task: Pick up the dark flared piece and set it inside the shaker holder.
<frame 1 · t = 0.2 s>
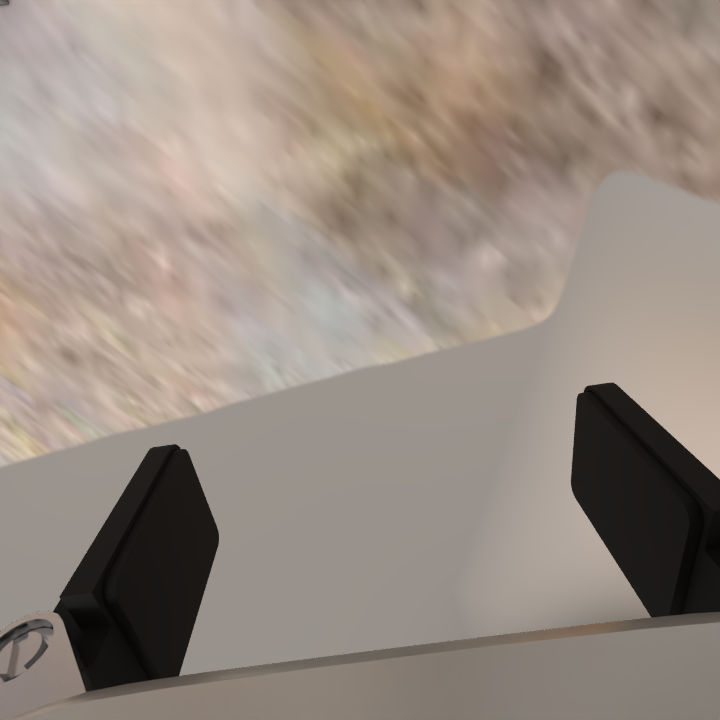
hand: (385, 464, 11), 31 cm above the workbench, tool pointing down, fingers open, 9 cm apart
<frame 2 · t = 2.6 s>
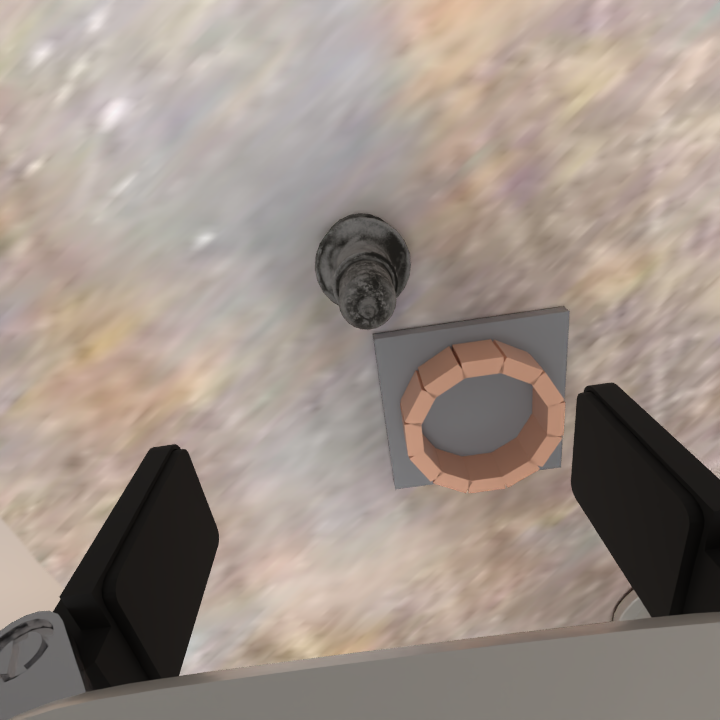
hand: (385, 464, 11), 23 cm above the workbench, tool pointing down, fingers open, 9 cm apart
dark flared piece: (361, 253, 32), on the workbench
shaker holder: (471, 401, 37), on the workbench
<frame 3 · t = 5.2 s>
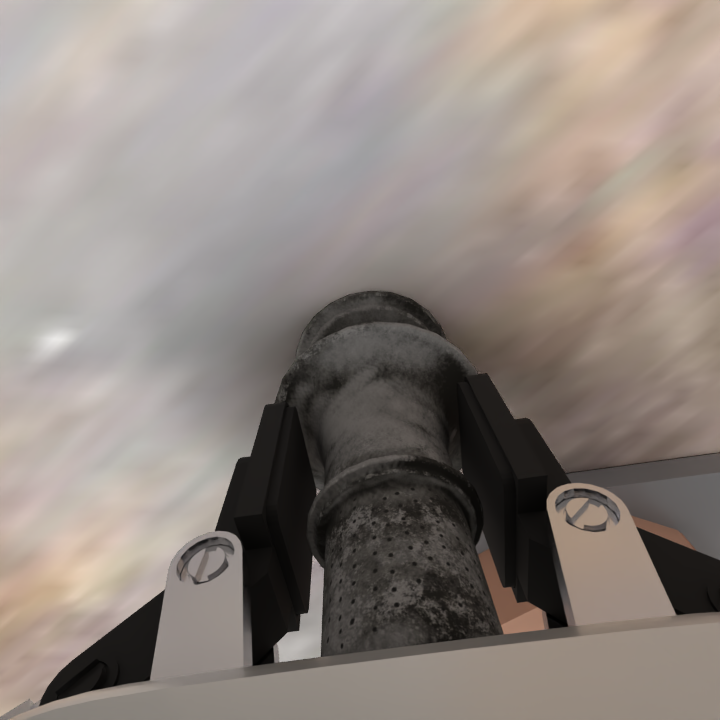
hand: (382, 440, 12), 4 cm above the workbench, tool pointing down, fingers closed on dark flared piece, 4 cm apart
dark flared piece: (372, 362, 16), on the workbench, touching gripper
shaker holder: (560, 591, 21), on the workbench
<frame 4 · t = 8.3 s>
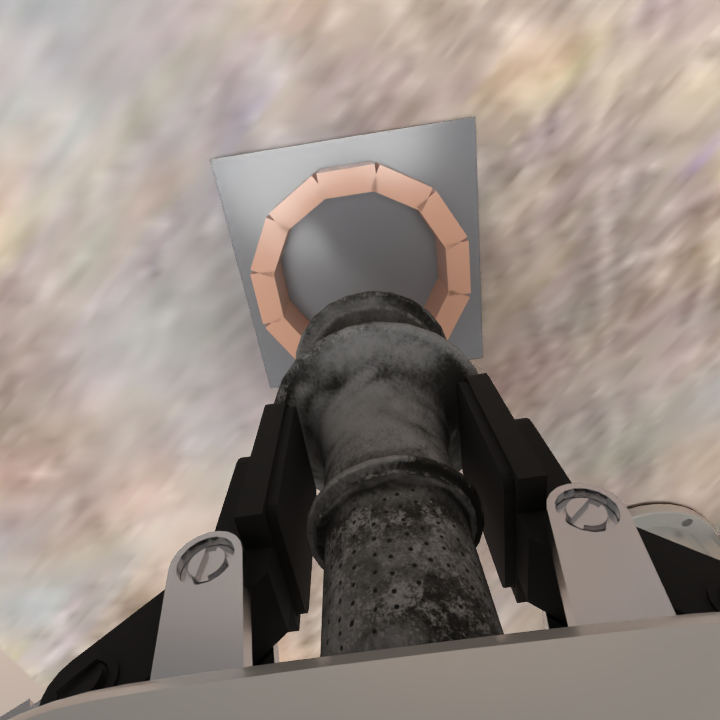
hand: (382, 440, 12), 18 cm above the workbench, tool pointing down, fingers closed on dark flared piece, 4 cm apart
dark flared piece: (372, 362, 16), point 13 cm above the workbench, touching gripper
shaker holder: (359, 264, 28), on the workbench
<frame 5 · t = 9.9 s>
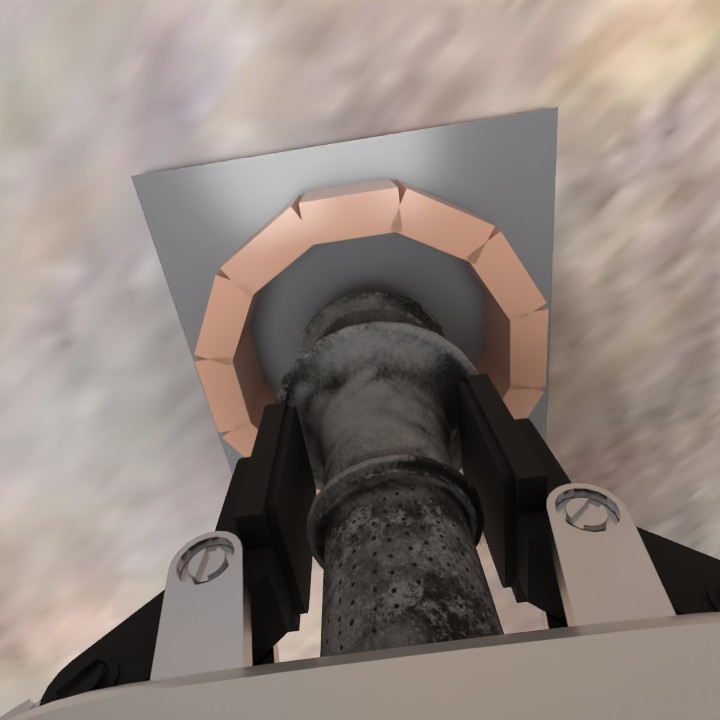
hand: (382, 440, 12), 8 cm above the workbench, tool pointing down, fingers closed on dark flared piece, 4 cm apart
dark flared piece: (372, 362, 16), point 3 cm above the workbench, touching gripper
shaker holder: (368, 328, 19), on the workbench
when the fingers open (7 cm above the workbench, at t = 11.2 s): dark flared piece drops 1 cm, resting on shaker holder.
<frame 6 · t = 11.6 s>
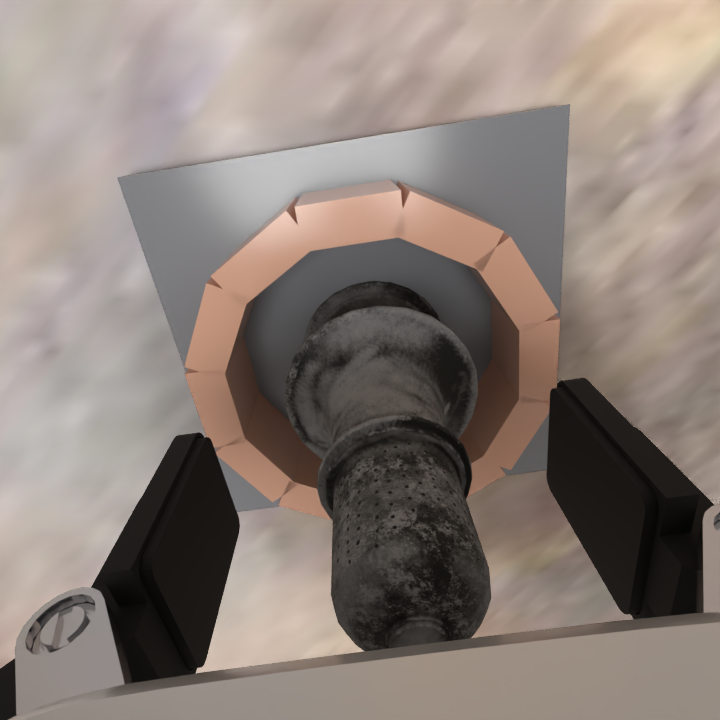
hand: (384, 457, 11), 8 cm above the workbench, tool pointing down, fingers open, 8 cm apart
dark flared piece: (374, 347, 17), point 1 cm above the workbench, touching shaker holder
shaker holder: (369, 336, 18), on the workbench
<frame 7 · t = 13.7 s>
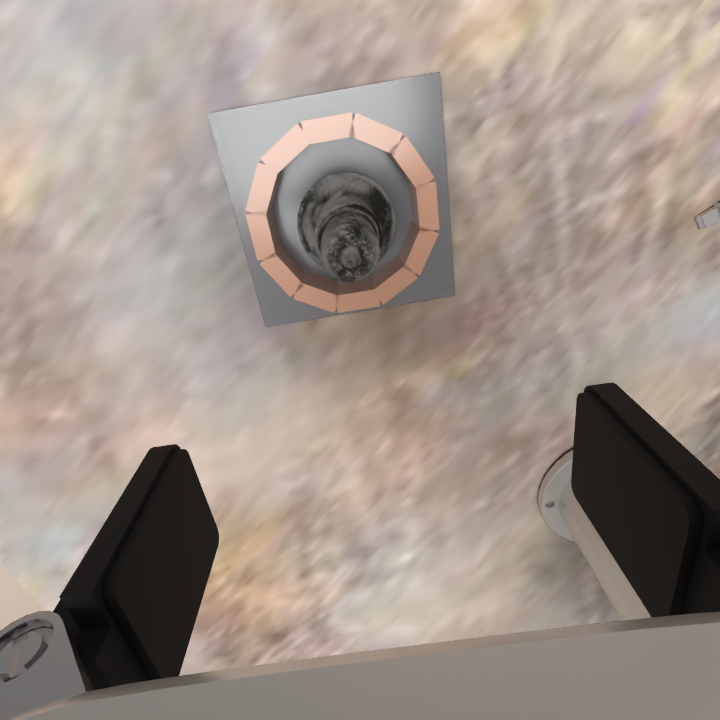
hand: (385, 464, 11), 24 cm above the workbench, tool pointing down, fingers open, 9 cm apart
dark flared piece: (345, 214, 31), point 1 cm above the workbench, touching shaker holder
shaker holder: (342, 211, 32), on the workbench
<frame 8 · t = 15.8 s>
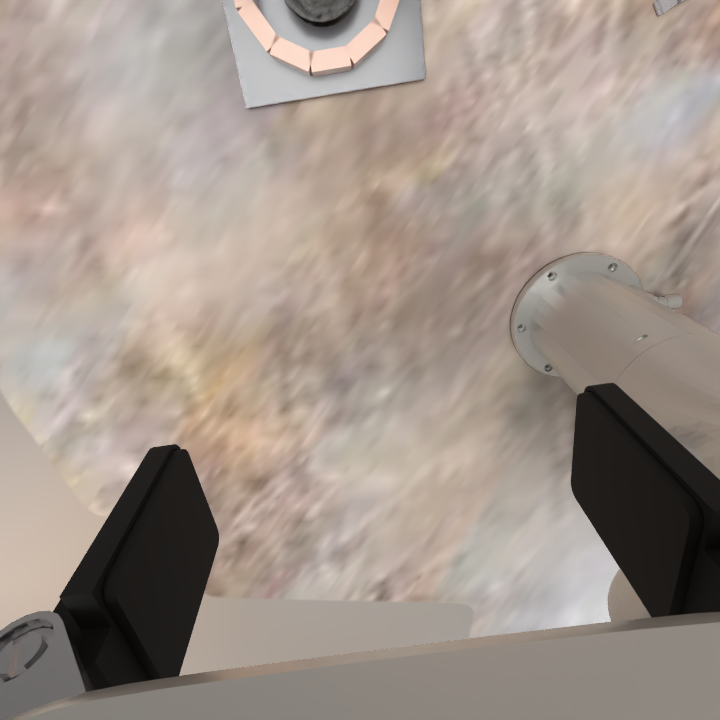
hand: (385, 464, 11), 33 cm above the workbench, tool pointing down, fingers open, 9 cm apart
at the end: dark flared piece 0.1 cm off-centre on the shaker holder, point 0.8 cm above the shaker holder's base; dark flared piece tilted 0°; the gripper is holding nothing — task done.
